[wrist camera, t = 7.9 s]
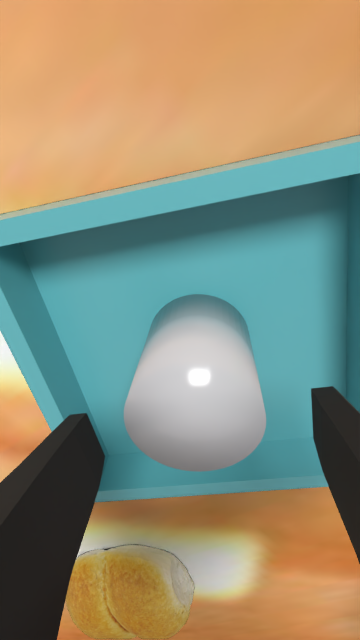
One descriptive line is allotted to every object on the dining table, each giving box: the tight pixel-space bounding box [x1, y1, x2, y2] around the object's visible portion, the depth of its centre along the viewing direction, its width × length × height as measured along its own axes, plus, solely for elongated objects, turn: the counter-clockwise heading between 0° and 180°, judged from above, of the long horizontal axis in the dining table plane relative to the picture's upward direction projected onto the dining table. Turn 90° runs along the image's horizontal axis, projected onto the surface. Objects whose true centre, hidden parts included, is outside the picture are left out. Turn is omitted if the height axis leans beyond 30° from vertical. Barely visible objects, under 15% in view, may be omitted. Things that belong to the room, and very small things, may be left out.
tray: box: [0, 135, 360, 502], centre depth 14 cm, size 14×14×3 cm
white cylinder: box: [124, 294, 266, 472], centre depth 13 cm, size 4×4×5 cm
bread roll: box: [66, 545, 194, 640], centre depth 24 cm, size 8×9×4 cm
